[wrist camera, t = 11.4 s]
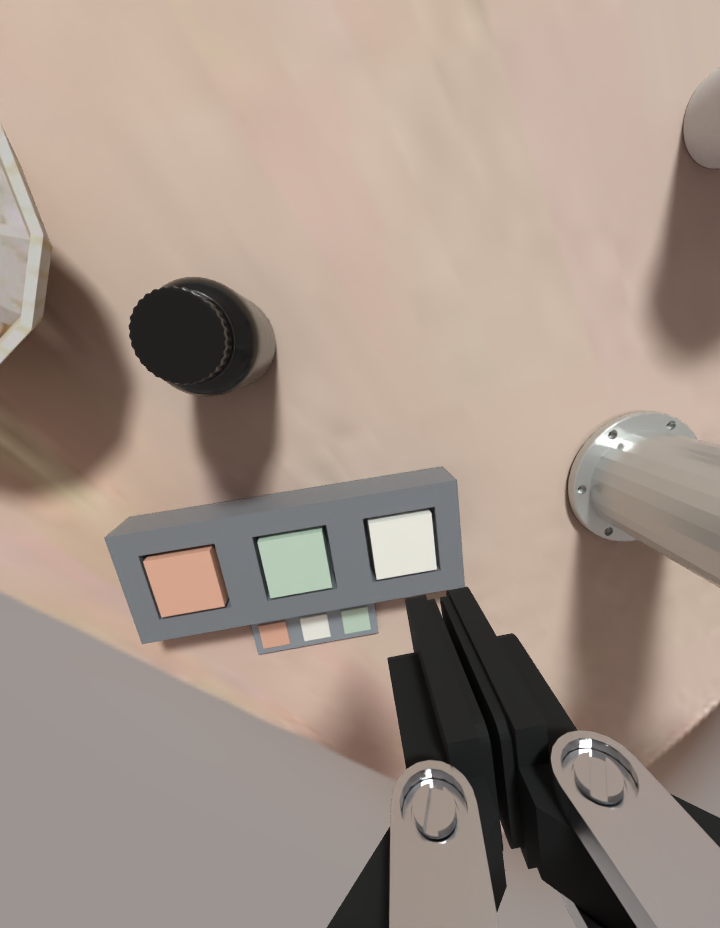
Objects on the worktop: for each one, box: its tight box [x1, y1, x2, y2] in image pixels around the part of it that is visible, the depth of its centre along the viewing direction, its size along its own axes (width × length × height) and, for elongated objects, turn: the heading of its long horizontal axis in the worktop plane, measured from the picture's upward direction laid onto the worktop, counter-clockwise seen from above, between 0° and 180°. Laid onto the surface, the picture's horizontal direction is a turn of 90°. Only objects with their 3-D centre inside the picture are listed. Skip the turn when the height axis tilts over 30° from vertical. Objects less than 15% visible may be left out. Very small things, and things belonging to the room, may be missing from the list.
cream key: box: [366, 508, 437, 580], centre depth 34 cm, size 5×5×3 cm
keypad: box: [104, 467, 465, 644], centre depth 34 cm, size 28×10×4 cm, turn 98°
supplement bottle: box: [129, 277, 276, 397], centre depth 25 cm, size 7×7×12 cm
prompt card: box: [251, 603, 378, 654], centre depth 38 cm, size 12×4×1 cm, turn 98°
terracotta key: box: [143, 544, 229, 617], centre depth 33 cm, size 5×5×3 cm
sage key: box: [257, 525, 332, 598], centre depth 33 cm, size 5×5×3 cm
